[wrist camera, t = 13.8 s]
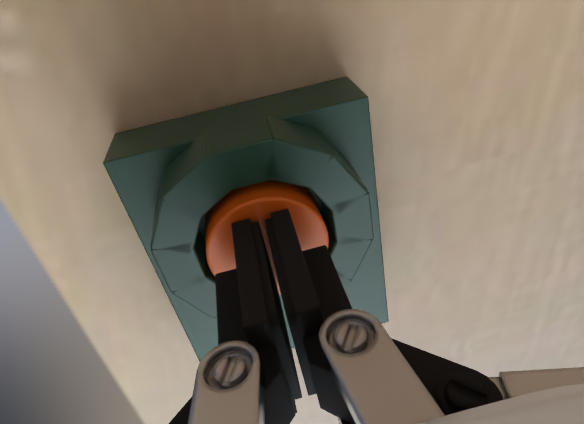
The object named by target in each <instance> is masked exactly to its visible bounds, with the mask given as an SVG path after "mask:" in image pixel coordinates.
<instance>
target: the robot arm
mask: <svg viewBox="0 0 584 424" xmlns="http://www.w3.org/2000/svg"><path fill="white" fill-rule="evenodd" d="M270 215H271V218H269V219H265V220H264V222H265V226H266V230H267V235H268V239H269V243H270V248H271V252H272V257H273V261H274V265H275V270H276V274H277V278H278V283H279V287H280V291H281V296H282V300H283V304H284V309H285V313H286V317H287V321H288V324H289V328H290V331H291V335H292V338H293V342H294V346H295V349H296V353H297V356H298V360H299V363H300V367H301V370H302V374H303V377H304V381H305V385H306V388H307V392H308V395H313V394H316V393H317V396H318V400H319V404H320V408H322V409H324V410H326V411H327V412H329V413H331V414H333V415H335V416H337V418H338V421H339V424H584V367H579V368H562V369H544V370H527V371H510V372H500V373H499V377H487V376H485V375H483V374H481V373H480V372H478V371H476V370H473V369H470V368H468V367H465V366H462V365H460V364H457V363H455V362H452V361H449V360H447V359H444V358H441V357H439V356H436V355H433V354H431V353H428V352H426V351H423V350H420V349H418V348H415V347H412V346H410V345H407V344H404V343H402V342H399V341H397V340H394V339H391V338H390V336H389V335H388V333H387V332H386V331H385V329H384V328H383V326H382V325H381V323H380V322H379V321H378V320H377V319H376V318H375V317H374V316H373V315H372V314H370V313H368V312H366V311H363V310H359V309H352V307H351V304H350V302H349V299H348V297H347V295H346V292H345V290H344V287H343V285H342V282H341V280H340V278H339V275H338V273H337V270H336V268H335V265H334V263H333V261H332V258H331V256H330V253H329V251H328V249H327V246H326V245H323V246H319V247H315V248H312V249H308V250H304V251H302V249H301V246H300V243H299V240H298V237H297V234H296V230H295V227H294V224H293V221H292V218H291V215H290V212H289V209H288V208H287V209H283V210H280V211H276V212H272V213H270ZM231 226H232V235H233V244H234V253H235V262H236V269H232V270H229V271H225V272H221V273H217V274H216V275H215V285H216V306H217V327H218V345H217V346H216V347H214V348H212V349H211V350H210V351H209V352H208V353H207V354H205V356H204V357H203V359H202V360H201V362H200V363H199V366H198V369H197V373H196V379H195V385H194V390H193V396H192V397H191V399H190V400H189V401H188V402H187V403H186V404H185V405H184V407H183V408H182V409H181V410H180V411H179V412H178V414H177V415H176V416H175V417H174V418H173V419H172V421H171V422H170V423H169V424H290V422H291V421H292V419H293V418H294V416H295V413H297V410H296V405H295V399H298V398H302V394H301V390H300V385H299V381H298V376H297V372H296V367H295V363H294V358H293V354H292V349H291V345H290V341H289V336H288V332H287V327H286V323H285V318H284V314H283V309H282V305H281V300H280V296H279V292H278V288H277V285H276V281H275V278H274V274H273V271H272V267H271V264H270V260H269V257H268V253H267V250H266V246H265V243H264V239H263V236H262V232H261V229H260V225H259V222H258V221H257V222H253V223H251V220H250V218H249V219H245V220H241V221H237V222H233V223H231Z"/></svg>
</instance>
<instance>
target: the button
mask: <svg viewBox="0 0 584 424" xmlns="http://www.w3.org/2000/svg"><path fill="white" fill-rule="evenodd" d="M287 208H288V209H289V212H290V215H291V218H292V221H293V224H294V227H295V230H296V234H297V237H298V240H299V243H300V246H301V249H302V251H304V250H308V249H312V248H315V247H319V246H323V245H326V246H327V249H328V245H329V237H328V231H327V228H326V225H325V223H324V221H323V218H322V216H321V214H320V211H319V209H318V207H317V205H316V202H315V200H314V198H313V196H312V194H311V192H310V191H309V189H308V188H307V187H302V186H298V185H293V184H289V183H284V182H280V181H275V180H268V181H265V182H261V183H257V184H253V185H249V186H245V187H241V188H237V189H233V190H231V191H230V192H229V193H228V194H227V195H225V196H224V197H223V198H222V199H221V200H220V201H219V202H218V203H216V204H215V205H214V206H213V207H212V208H211V209H210V210H209V211H207V212H206V216H205V239H206V258H207V262H208V266H209V268H210V270H211V272H212V273H213V274H214V276H215V275H216V274H217V273H221V272H225V271H229V270H232V269H236V262H235V253H234V244H233V235H232V226H231V223H233V222H237V221H241V220H245V219H249V218H250V220H251V223H253V222H257V221H258V222H259V225H260V229H261V232H262V236H263V239H264V243H265V246H266V250H267V253H268V257H269V260H270V264H271V267H272V271H273V274H274V278H275V281H276V285H277V288H278V292H279V295H280V294H281V291H280V287H279V283H278V278H277V274H276V270H275V265H274V261H273V257H272V252H271V248H270V243H269V239H268V235H267V230H266V226H265V222H264V220H265V219H269V218H271V215H270V213H272V212H276V211H280V210H283V209H287Z"/></svg>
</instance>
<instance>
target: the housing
mask: <svg viewBox="0 0 584 424" xmlns="http://www.w3.org/2000/svg"><path fill="white" fill-rule="evenodd" d="M103 164H104V166H105V168H106V170H107V172H108V174H109V176H110V178H111V180H112V182H113V184H114V186H115V189H116V191H117V193H118V195H119V197H120V199H121V201H122V203H123V205H124V207H125V209H126V211H127V213H128V215H129V217H130V219H131V221H132V223H133V226H134V228H135V230H136V232H137V234H138V236H139V238H140V240H141V242H142V244H143V246H144V248H145V250H146V252H147V254H148V256H149V258H150V260H151V262H152V265H153V267H154V269H155V271H156V273H157V275H158V277H159V279H160V281H161V283H162V285H163V287H164V289H165V291H166V293H167V295H168V297H169V299H170V301H171V304H172V306H173V308H174V310H175V312H176V314H177V316H178V318H179V320H180V322H181V324H182V326H183V328H184V330H185V332H186V334H187V336H188V338H189V340H190V343H191V345H192V347H193V349H194V351H195V353H196V355H197V357H198V359H199V361H200V362H201V360H202V359H203V357H204V356H205V354H207V353H208V352H209V351H210V350H211V349H212V348H214V347H216V346H217V345H218V327H217V306H216V285H215V276H214V274H213V273H212V272H211V270H210V268H209V266H208V262H207V258H206V239H205V216H206V212H207V211H209V210H210V209H211V208H212V207H213V206H214V205H215V204H216V203H218V202H219V201H220V200H221V199H222V198H223V197H224V196H225V195H227V194H228V193H229V192H230V191H231V190H233V189H237V188H241V187H245V186H249V185H253V184H257V183H261V182H265V181H268V180H275V181H280V182H284V183H289V184H293V185H298V186H302V187H307V188H308V189H309V191H310V192H311V194H312V196H313V198H314V200H315V202H316V205H317V207H318V209H319V211H320V214H321V216H322V218H323V221H324V223H325V225H326V228H327V231H328V237H329V245H328V251H329V253H330V256H331V258H332V261H333V263H334V265H335V268H336V270H337V273H338V275H339V278H340V280H341V282H342V285H343V287H344V290H345V292H346V295H347V297H348V299H349V302H350V304H351V307H352V309H359V310H363V311H366V312H368V313H370V314H372V315H373V316H374V317H375V318H376V319H377V320H378V321H379V322H380V323H385V322H388V311H387V300H386V289H385V278H384V267H383V256H382V245H381V234H380V223H379V212H378V201H377V190H376V179H375V168H374V157H373V146H372V135H371V124H370V113H369V102H368V96H367V95H366V94H365V93H364V92H363V91H361V90H360V89H359V88H358V87H357V86H356V85H355V84H354V83H353V82H352V81H351V80H350V79H349V78H348V77H343V78H339V79H335V80H331V81H327V82H323V83H319V84H315V85H311V86H307V87H303V88H299V89H295V90H291V91H287V92H283V93H279V94H275V95H271V96H267V97H262V98H258V99H254V100H250V101H246V102H242V103H238V104H234V105H230V106H226V107H222V108H218V109H214V110H210V111H206V112H202V113H198V114H194V115H190V116H186V117H182V118H178V119H173V120H169V121H165V122H161V123H157V124H153V125H149V126H145V127H141V128H137V129H133V130H129V131H125V132H121V133H117V134H115V135H114V137H113V140H112V142H111V145H110V147H109V150H108V152H107V155H106V157H105V159H104V162H103ZM279 296H280V300H281V305H282V309H283V314H284V318H285V323H286V327H287V332H288V336H289V341H290V345H291V348H294V347H295V346H294V342H293V338H292V335H291V331H290V328H289V324H288V321H287V317H286V313H285V309H284V304H283V300H282V296H281V294H280V295H279Z"/></svg>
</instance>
